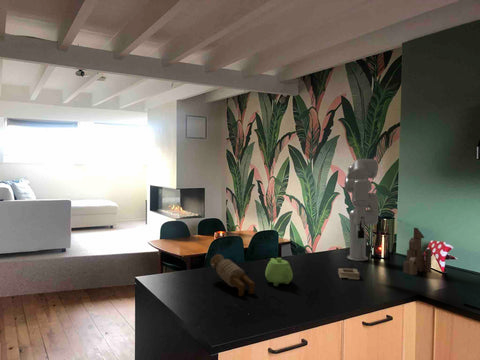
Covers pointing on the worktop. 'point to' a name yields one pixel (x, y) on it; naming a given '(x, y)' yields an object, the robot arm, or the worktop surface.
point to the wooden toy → (417, 256)
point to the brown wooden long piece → (231, 274)
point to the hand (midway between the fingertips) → (360, 237)
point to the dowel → (359, 240)
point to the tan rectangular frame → (348, 273)
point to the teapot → (278, 271)
